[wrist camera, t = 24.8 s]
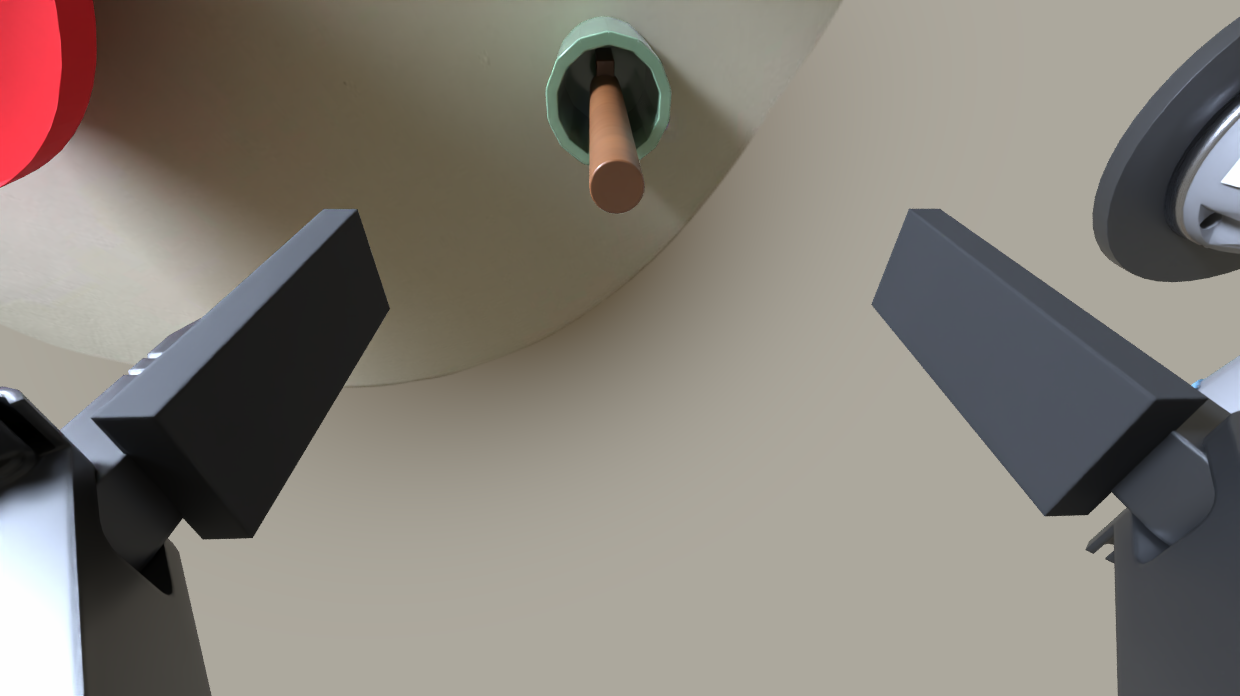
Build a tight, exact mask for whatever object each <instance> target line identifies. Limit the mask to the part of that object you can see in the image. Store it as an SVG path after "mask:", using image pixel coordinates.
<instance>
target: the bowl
mask: <svg viewBox="0 0 1240 696" xmlns="http://www.w3.org/2000/svg"><path fill="white" fill-rule="evenodd" d="M96 58H97V43H96V19H95V12H94V5H93V0H0V188H1V187H3V186H5V185H7V184H9V183H11V182H14V181H16V180H18V179H20V178H22V177H24V176H26V175H28V174H30V173H32V172H33V171H35V170H37V169H39V168H40V167H42V166H43V165H44V164H46V163H47V162H49V161H50V160H51V159H52V158H53V157H54V156H56V155H57V154H58V153H59V152H60V151H61V150H62V149H63V148H64V146H65V145H66V144H67V143H68V141H69V140H70V139H71V138H72V136H73V135H74V134H75V132H76V130H77V128H78V126H79V124H80V122H81V121H82V119H83V117H84V114H85V111H86V109H87V106H88V104H89V100H90V96H91V92H92V89H93V84H94V76H95V69H96Z"/></svg>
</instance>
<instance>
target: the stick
mask: <svg viewBox="0 0 1240 696" xmlns="http://www.w3.org/2000/svg"><path fill="white" fill-rule="evenodd" d="M595 52H596V75H595V76H594V77H593V79H592V80H591V83H590V122H589V189H590V194H591V197H592V199H593V201H594V202H595V204H596V205H597V206H598V207H599V208H601V209H602V210H604V211H606V212H609V213H616V214H618V213H624V212H627V211H629V210H631V209H633V208H634V207H635V206H636V205H637V204H638V203H639V202H640V200H641V198H642V196H643V193H644V178H643V174H642V170H641V166H640V162H639V158H638V154H637V150H636V146H635V142H634V138H633V134H632V130H631V126H630V122H629V118H628V114H627V110H626V106H625V102H624V98H623V94H622V90H621V86H620V83H619V81H618V79H617V77H616V76H615V75H614V64H615V62H614V58H613V54H612V50H611V48H596V49H595Z"/></svg>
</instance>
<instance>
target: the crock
mask: <svg viewBox="0 0 1240 696" xmlns="http://www.w3.org/2000/svg"><path fill="white" fill-rule="evenodd" d="M596 48H611V50H612V54H613V58H614V62H615V64H614V75H615V76H616V77H617V79H618V81H619V83H620V86H621V90H622V94H623V98H624V102H625V106H626V110H627V114H628V118H629V122H630V126H631V130H632V134H633V138H634V142H635V146H636V150H637V154H638V158H639V160H640V159H642V158H643V157H644V156H645V155H647V154H648V153H649V152H651V151H652V150H653V149H654V148H655V147H656V146H657V144H658V142H659V140H660V138H661V136H662V134H663V133H664V131H665V129H666V127H667V125H668V123H669V120H670V106H671V87H670V84H669V82H668V79H667V76H666V73H665V70H664V68H663V65H662V62H661V61H660V59H659V58H658V56H657V55H656V54H655V52H654V51H653V49H652V48H651V47H650V45H649V44H648V43H647V41H646V40H645V39H644V38H643V37H642V36H641V35H640V34H639V33H638V32H637V31H636V30H635V29H634V28H633V27H632V26H631V25H630V24H629V23H627V22H624V21H622V20H620V19H617V18H613V17H607V16H603V17H595V18H591V19H588V20H586V21H584V22H582V23H580V24H579V25H578V26H576V27H575V28H574V29H573V30H572V31H571V32H570V33H569V34H568V35H567V36H566V37H565V38H564V40H563V42H562V45H561V47H560V50H559V53H558V56H557V58H556V61H555V64H554V67H553V69H552V72H551V75H550V78H549V81H548V84H547V86H546V105H547V119H548V122H549V124H550V126H551V128H552V130H553V132H554V134H555V136H556V138H557V140H558V142H559V144H560V145H561V146H562V148H563V149H565V150H566V151H567V152H568V153H570V154H571V155H572V156H573V157H575V158H576V159H577V160H579V161H580V162H581V163H583V164H585V165H589V122H590V83H591V80H592V79H593V77H594V76H595V75H596V52H595V49H596Z"/></svg>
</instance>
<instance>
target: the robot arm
mask: <svg viewBox="0 0 1240 696" xmlns="http://www.w3.org/2000/svg"><path fill="white" fill-rule="evenodd" d="M1164 213H1165V218H1166V221H1167V223H1168V225H1169V227H1170V228H1171V229H1172V230H1173V231H1174V232H1175V233H1176V234H1178V235H1179V236H1181V237H1183V238H1185V239H1187V240H1189V241H1192V242H1194V243H1196V244H1198V245H1200V246H1202V247H1205V248H1209V249H1214V250H1218V251H1223V252H1230V253H1237V254H1240V91H1239V92H1238V93H1237V94H1236V95H1235V96H1234V97H1232V98H1231V99H1230V100H1229V101H1228V102H1227V103H1226V104H1225V105H1224V106H1223V107H1222V108H1221V109H1220V110H1219V111H1218V112H1217V113H1216V114H1215V115H1214V116H1213V117H1212V118H1211V119H1210V120H1209V121H1208V122H1207V123H1206V124H1205V126H1204V127H1203V128H1202V129H1201V130H1200V132H1199V133H1198V134H1197V135H1196V136H1195V138H1194V139H1193V140H1192V142H1191V143H1190V144H1189V146H1188V147H1187V149H1186V150H1185V152H1184V153H1183V155H1182V156H1181V158H1180V160H1179V162H1178V163H1177V165H1176V167H1175V169H1174V171H1173V173H1172V175H1171V178H1170V180H1169V183H1168V186H1167V189H1166V193H1165V199H1164ZM872 305H873V307H874V308H875V309H876V310H877V312H878V313H879V314H880V316H881V317H882V318H883V319H884V320H885V321H886V323H887V324H888V325H889V326H890V328H891V329H892V330H893V331H894V332H895V334H896V335H897V336H898V337H899V339H900V340H901V341H902V342H903V343H904V345H905V346H906V347H907V349H908V350H909V351H910V352H911V353H912V355H913V356H914V357H915V358H916V359H917V360H918V362H919V363H920V364H921V366H922V367H923V368H924V369H925V371H926V372H927V373H928V374H929V375H930V377H931V378H932V379H933V380H934V382H935V383H936V384H937V385H938V386H939V388H940V389H941V390H942V391H943V393H944V394H945V395H946V396H947V397H948V399H949V400H950V401H951V402H952V404H953V405H954V406H955V407H956V408H957V410H958V411H959V412H960V413H961V415H962V416H963V417H964V418H965V419H966V421H967V422H968V423H969V424H970V426H971V427H972V428H973V429H974V430H975V432H976V433H977V434H978V435H979V437H980V438H981V439H982V440H983V441H984V443H985V444H986V445H987V446H988V448H989V449H990V450H991V451H992V452H993V454H994V455H995V456H996V457H997V459H998V460H999V461H1000V462H1001V464H1002V465H1003V466H1004V467H1005V468H1006V470H1007V471H1008V472H1009V473H1010V475H1011V476H1012V477H1013V478H1014V479H1015V481H1016V482H1017V483H1018V484H1019V485H1020V487H1021V488H1022V489H1023V490H1024V492H1025V493H1026V494H1027V495H1028V496H1029V498H1030V499H1031V500H1032V501H1033V503H1034V504H1035V505H1036V506H1037V508H1038V509H1039V510H1040V511H1041V512H1042V514H1043V515H1044V516H1070V515H1071V516H1072V515H1088V514H1089V513H1090V512H1091V511H1092V510H1093V509H1094V508H1096V507H1097V506H1098V505H1099V504H1100V503H1101V502H1102V501H1103V500H1104V499H1105V498H1106V497H1107V496H1108V495H1109V494H1110V493H1111V492H1112V493H1113V494H1114V495H1115V496H1116V497H1117V498H1118V499H1119V500H1120V501H1121V502H1122V503H1123V504H1124V505H1125V506H1126V507H1127V508H1126V509H1125V510H1124V511H1123V512H1121V513H1120V514H1119V515H1118V516H1117V517H1116V518H1115V519H1114V520H1113V521H1111V522H1110V523H1109V524H1108V525H1107V526H1106V527H1105V528H1104V529H1103V530H1101V531H1100V532H1099V533H1098V534H1097V535H1096V536H1095V537H1094V538H1093V539H1091V540H1090V541H1089V543H1088V545H1087V548H1086V550H1087V551H1089V552H1091V553H1093V554H1094V553H1095V552H1096V551H1097V550H1098V549H1099V548H1101V547H1102V546H1103V545H1104V544H1113V545H1114V551H1113V552H1112V553H1111V554H1109V555H1108V556H1107V557H1106V560H1108V561H1110V562H1112V563H1114V564H1115V603H1116V638H1117V639H1116V640H1117V678H1118V696H1240V356H1238V357H1236V358H1235V359H1234V360H1232V361H1231V362H1229V363H1228V364H1226V365H1225V366H1223V367H1222V368H1220V369H1219V370H1217V371H1216V372H1214V373H1213V374H1211V375H1210V376H1209V377H1207V378H1205V379H1200V380H1198V381H1196V382H1195V383H1193V384H1192V385H1189V384H1188V383H1187V382H1185V381H1184V380H1183V379H1181V378H1180V377H1178V376H1177V375H1175V374H1174V373H1173V372H1171V371H1170V370H1168V369H1167V368H1165V367H1164V366H1163V365H1161V364H1160V363H1158V362H1157V361H1156V360H1154V359H1153V358H1151V357H1149V356H1148V355H1147V354H1145V353H1144V352H1143V351H1141V350H1140V349H1138V348H1137V347H1136V346H1134V345H1133V344H1131V343H1130V342H1129V341H1127V340H1126V339H1124V338H1123V337H1121V336H1120V335H1119V334H1117V333H1116V332H1114V331H1113V330H1111V329H1110V328H1109V327H1107V326H1106V325H1104V324H1103V323H1101V322H1100V321H1099V320H1097V319H1096V318H1094V317H1093V316H1092V315H1090V314H1089V313H1087V312H1086V311H1084V310H1083V309H1082V308H1080V307H1079V306H1077V305H1076V304H1074V303H1073V302H1072V301H1070V300H1069V299H1067V298H1066V297H1065V296H1063V295H1062V294H1060V293H1059V292H1057V291H1056V290H1055V289H1053V288H1052V287H1050V286H1049V285H1047V284H1046V283H1045V282H1043V281H1042V280H1040V279H1039V278H1037V277H1036V276H1035V275H1033V274H1032V273H1030V272H1029V271H1028V270H1026V269H1025V268H1023V267H1022V266H1020V265H1019V264H1018V263H1016V262H1015V261H1013V260H1012V259H1010V258H1009V257H1007V256H1006V255H1005V254H1003V253H1002V252H1000V251H999V250H998V249H996V248H995V247H993V246H992V245H990V244H989V243H988V242H986V241H985V240H983V239H982V238H980V237H979V236H978V235H976V234H975V233H973V232H972V231H970V230H969V229H968V228H966V227H965V226H964V225H962V224H961V223H959V222H958V221H956V220H955V219H954V218H952V217H951V216H949V215H948V214H946V213H945V212H943V211H942V210H941V209H909V211H908V213H907V216H906V218H905V221H904V223H903V226H902V228H901V231H900V233H899V236H898V239H897V241H896V243H895V246H894V249H893V251H892V254H891V257H890V259H889V261H888V264H887V267H886V269H885V272H884V274H883V277H882V279H881V282H880V284H879V287H878V289H877V292H876V295H875V297H874V299H873V302H872ZM389 309H390V307H389V304H388V301H387V298H386V295H385V292H384V289H383V286H382V283H381V280H380V277H379V274H378V271H377V267H376V264H375V261H374V258H373V255H372V252H371V249H370V246H369V243H368V240H367V237H366V234H365V231H364V228H363V225H362V221H361V218H360V215H359V212H358V209H323V210H322V211H321V212H320V213H319V214H318V215H316V216H315V217H314V218H313V219H312V220H311V221H310V222H309V223H308V224H306V225H305V226H304V227H303V228H302V229H301V230H300V231H299V232H297V233H296V234H295V235H294V236H293V237H292V238H291V239H290V240H288V241H287V242H286V243H285V244H284V245H283V246H282V247H281V248H280V249H278V250H277V251H276V252H275V253H274V254H273V255H272V256H271V257H269V258H268V259H267V260H266V261H265V262H264V263H263V264H262V265H261V266H259V267H258V268H257V269H256V270H255V271H254V272H253V273H252V274H250V275H249V276H248V277H247V278H246V279H245V280H244V281H243V282H242V283H240V284H239V285H238V286H237V287H236V288H235V289H234V290H233V291H231V292H230V293H229V294H228V295H227V296H226V297H225V298H224V299H222V300H221V301H220V302H219V303H218V304H217V305H216V306H215V307H214V308H212V309H211V310H210V311H209V312H208V313H207V314H206V315H205V316H203V317H202V318H200V319H198V320H196V321H195V322H193V323H191V324H189V325H187V326H185V327H184V328H182V329H180V330H178V331H176V332H174V333H173V334H171V335H169V336H168V337H167V338H166V339H165V340H163V341H162V342H161V343H160V344H159V345H158V346H156V347H155V348H154V349H153V350H152V351H151V352H150V353H148V354H147V355H148V358H143V359H141V360H140V361H139V362H138V363H137V364H136V365H135V366H133V367H132V368H131V369H130V370H129V375H123V376H122V377H121V378H120V379H118V380H117V381H116V382H115V383H114V384H113V385H111V386H110V387H109V388H108V389H107V390H106V391H105V392H103V393H102V394H101V395H100V396H99V397H98V398H96V399H95V400H94V401H93V402H92V403H91V404H90V405H88V406H87V407H86V408H85V409H84V410H83V411H82V412H80V413H79V414H78V415H77V416H76V417H75V418H73V419H72V420H71V421H70V422H69V423H68V424H67V425H66V426H64V427H63V428H62V429H61V430H58V429H57V428H56V427H55V426H54V425H53V424H52V423H51V422H50V421H49V420H48V419H47V418H46V417H45V416H44V415H43V414H42V413H41V412H40V411H39V410H38V409H37V408H36V407H35V406H34V405H33V404H32V403H31V402H30V401H29V400H28V399H27V398H26V397H25V396H24V395H23V394H22V393H21V392H20V391H19V390H16V389H12V388H8V387H0V696H211V691H210V687H209V683H208V679H207V674H206V670H205V665H204V661H203V656H202V652H201V647H200V643H199V639H198V634H197V630H196V625H195V621H194V616H193V612H192V607H191V603H190V599H189V594H188V590H187V586H186V581H185V577H184V572H183V568H182V563H181V559H180V555H179V552H178V550H177V548H176V547H175V546H174V544H173V543H172V542H171V541H170V540H169V539H168V537H169V536H170V534H171V533H172V532H173V530H174V529H175V528H176V526H177V525H178V524H179V522H180V521H181V520H182V518H183V519H185V521H186V522H187V523H188V524H189V525H190V526H191V527H192V528H193V529H194V530H195V531H196V532H197V534H198V535H199V536H200V537H201V538H202V539H237V538H253V536H254V535H255V533H256V531H257V530H258V528H259V526H260V524H261V523H262V521H263V520H264V518H265V516H266V515H267V513H268V511H269V510H270V508H271V506H272V505H273V503H274V501H275V500H276V498H277V496H278V495H279V493H280V491H281V490H282V488H283V486H284V485H285V483H286V481H287V480H288V478H289V476H290V475H291V473H292V471H293V470H294V468H295V466H296V465H297V463H298V461H299V460H300V458H301V456H302V455H303V453H304V451H305V450H306V448H307V446H308V445H309V443H310V441H311V440H312V438H313V436H314V435H315V433H316V431H317V430H318V428H319V426H320V425H321V423H322V421H323V420H324V418H325V416H326V415H327V413H328V411H329V410H330V408H331V406H332V405H333V403H334V401H335V400H336V398H337V396H338V395H339V393H340V391H341V390H342V388H343V386H344V385H345V383H346V381H347V380H348V378H349V376H350V375H351V373H352V371H353V370H354V368H355V366H356V365H357V363H358V361H359V360H360V358H361V356H362V355H363V353H364V351H365V350H366V348H367V346H368V345H369V343H370V341H371V340H372V338H373V336H374V335H375V333H376V331H377V330H378V328H379V326H380V325H381V323H382V321H383V319H384V318H385V316H386V314H387V313H388V311H389Z"/></svg>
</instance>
